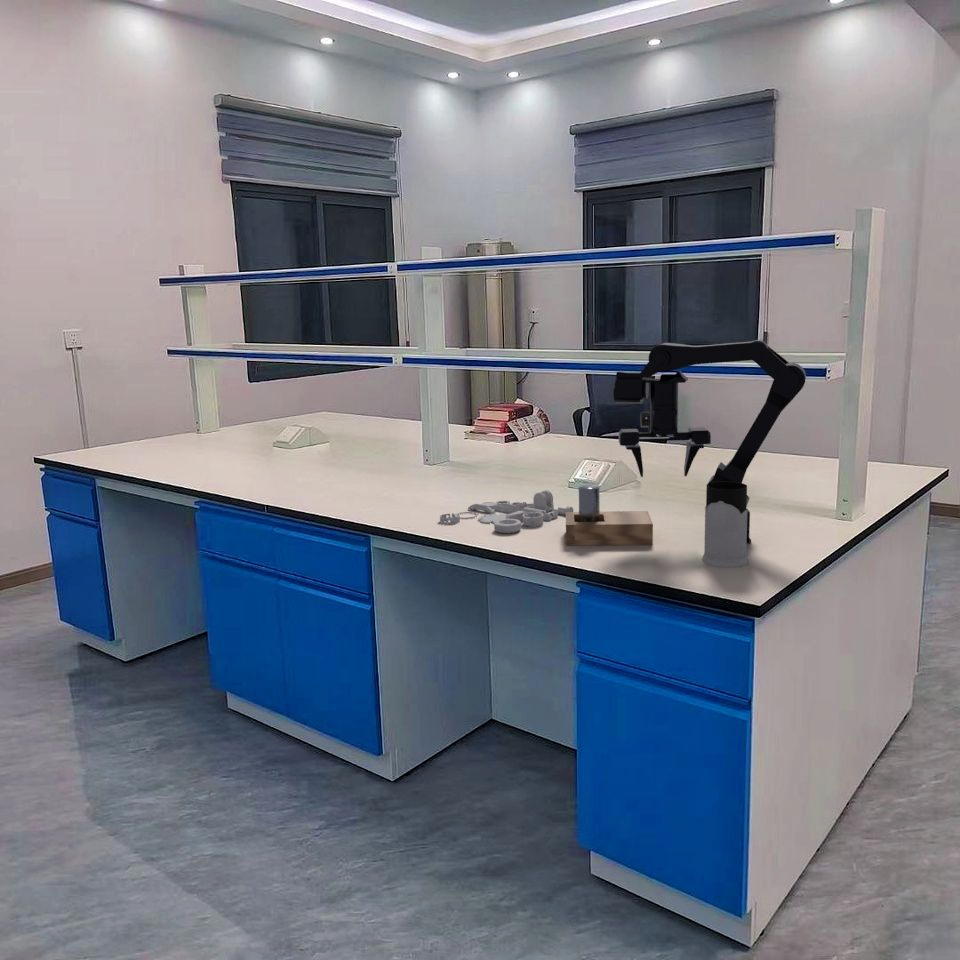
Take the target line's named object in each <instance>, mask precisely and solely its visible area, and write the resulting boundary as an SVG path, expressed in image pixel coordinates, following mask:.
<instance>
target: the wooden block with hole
mask: <svg viewBox="0 0 960 960" xmlns="http://www.w3.org/2000/svg"><path fill="white" fill-rule="evenodd" d="M653 526H654V524H653V521H652V518H651V515H650V514H649V511H648V510H626V511H625V510H623V511H620V510H618V511H617V510H616V511H615V510H614V511H612V510H611V511H600V522H579V511H573V512H566V515H565V538H566V539H565V542H566V543H565V545H566V546H567V547H568V546H569V547H570V546H571V547H572V546H573V547H574V546H644V545H645V546H653V545H654V541H653V540H654V539H653V537H654V535H653V533H654V531H653V530H654V527H653Z"/></svg>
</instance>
